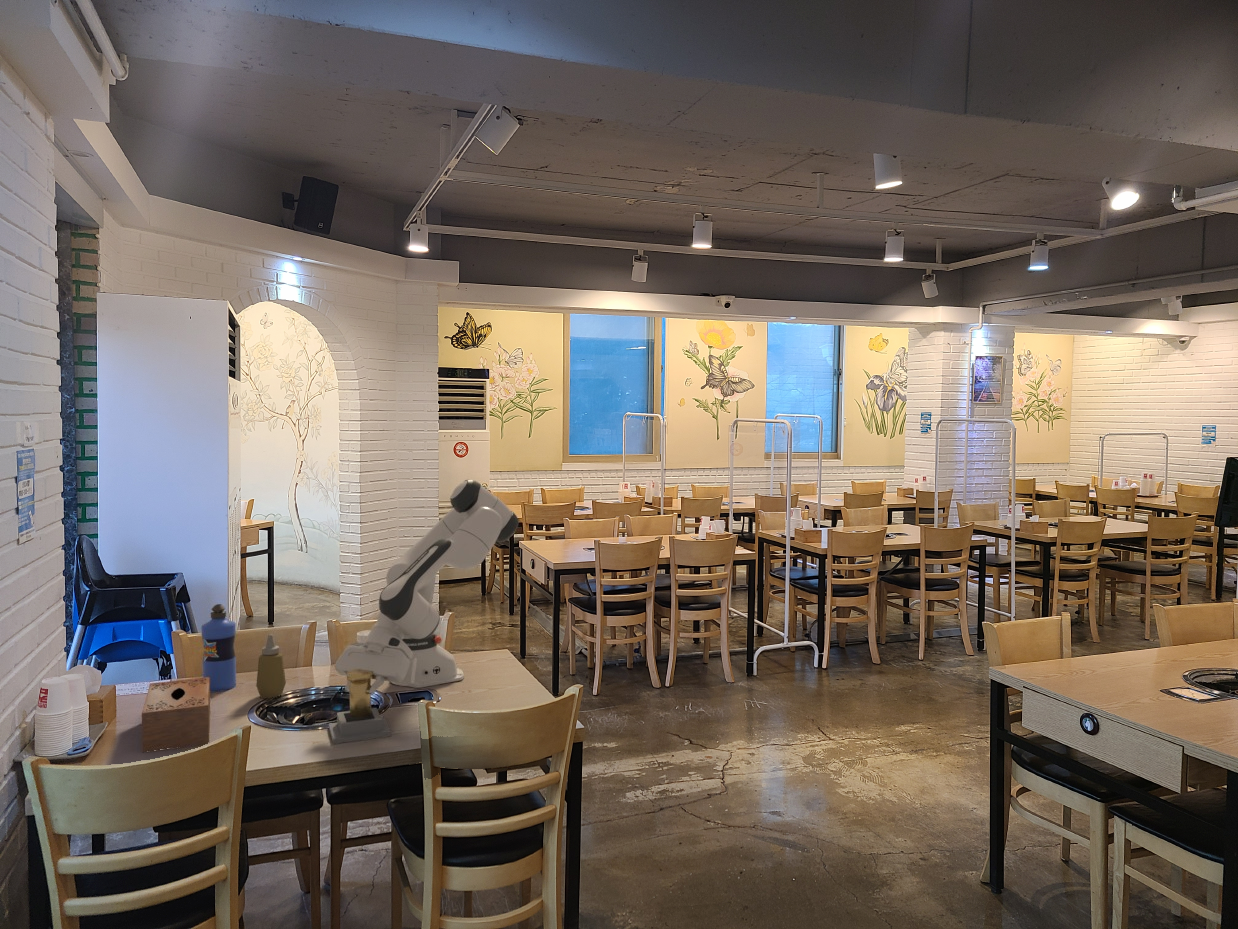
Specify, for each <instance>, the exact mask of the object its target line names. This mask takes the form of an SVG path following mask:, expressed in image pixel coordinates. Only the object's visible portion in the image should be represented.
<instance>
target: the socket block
mask: <svg viewBox="0 0 1238 929" xmlns="http://www.w3.org/2000/svg"><path fill="white" fill-rule="evenodd" d="M328 730H329V731H328V732H329V734H330V738H331V740H332V741H333V742H332V741H331V742H332V745H336V744H335V743H338V744H344V743H343V742H345V743H351V741H352V742H357V741H358V742H359V741H366V740H371V739H379V738H386V737H387V738H388V737H392V735H391V734H392V731H391V729H390V726H389V725H388V722H387V720H386V719H385V717H384V716H381V714H380V713H379V711H378V708H377V707H371V714H370V715H369V716H366V717H360V718H355V717H351V716H350V710H347V711H346V710H345V711H340V712H336V722H333V723H332V722H331V723H328Z"/></svg>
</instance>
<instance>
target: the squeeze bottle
mask: <svg viewBox="0 0 1238 929" xmlns="http://www.w3.org/2000/svg"><path fill="white" fill-rule="evenodd" d="M261 652H262V653H261V655H259V656H258V662H257V664H258V665H257V674H256V675H257V676H256V685H255V686H256V688H257V691H258V694H259V697H260V698H261V699H273V698H272V697H276V698H278V697H277V696H279V695H281V694H282V695H283V692H284V689H285V686H286V682H287V681H286V674H285V665H284V658H283V656H284V655H283V654H282V653H280V646H279V645H276V642H275V639H274V635H273V634H268V635H267V640H266V644H265V646H263V647H262V648H261ZM282 695H281V696H282ZM279 697H280V696H279Z"/></svg>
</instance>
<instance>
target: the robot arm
mask: <svg viewBox="0 0 1238 929" xmlns="http://www.w3.org/2000/svg"><path fill="white" fill-rule="evenodd" d="M449 500H450V505H451V507H452V509H450V510H449V511H448V512H447V513H445V515H444V516H443V517H442V518H440V520H439V521H438V522H437V523H436V524H435V525H434V526H432V527H431V529H430V530H429V531H428V532H427V533H426V534H425V535H423V536H422V537H421V538H420V539H419V540H418V541H417V542H416V543H415V544H413V545H412V546H411V547H410V548H409V549H408V550H407V551H405V552H404V553H403V554H402V555H401V556H400V557H399V558H398V559H397V560H395V562H394V563H392V564H391V566H390V568H389V569H388V570H387V572H386V579H385V580H386V584H387V585H386V586H385V587H383V589H382V591H381V592H380V594H379V598H378V609H379V613H378V615H377V620H376V622H375V623H374V625H372V627H371V629H370V630H371V631H370V633H369V635H368V637H367V639H366V641H365V643H358V642H357V641H354V642H352V643H350V644H348V645H347V646H346V648H345V649H344V650H343V651H342V653H341V654H340V656H339V657H338V659H337V660H336V662H335V664H334V670H335V671H336V672H337V673H338V674H339V675H341V676H345V677H347V672H348V671H350V670H354V669H361V670H369V671H373V678H372V679H371V680H375V681H374V682H373V683H371V685H369V686H368V688H367V690H366V692H367V693H368V694H371V696H372V695H375V693H376V691H377V690H378V689H380V687H381V686H382V685H383V684H384V683H385V682H386V681H387V682H390V683H391V684H393V685H396V686H401V687H403V686H404V687H411V688H414V689H417V688H418V689H420V688H424V687H431V686H437V685H441V684H446V683H447V684H448V683H452V682H453V683H454V682H458V681H462V680H464V678H465V674H464V672H463V670H462V669H461V668H459V667H457V663H456V659H455V657H454V655H453V654H452V653H450V652H449V651H448V650H446V649H445V648H443V647H442V646H440V645H439V644H441V643H442V640H443V639H442V637H440V636H439V635H437V634H435V632H436V630H437V629H438V627H439V624H440V616H441V615H440V612H438V610H437V609H436V608H435V607H434V606H433V598H434V593H435V586H436V577H437V573H438V572H439V571H440V570H441V569H442V568H444V567H445V566H448V567H451V568H454V569H457V570H463V571H469V570H473V569H476V568H478V567H479V566H480V565H481V564H482V563H483V562H484V560H485V558H487V557H488V555H489V554H490V552H491V550H492V548H493V547H494V545H495V543H503V542H506V541H507V540H508V539H510V538H511V537H512V536H513V535H514V534H515V533H516V531H517V529H518V527H519V518H518V516H517V514H516V513H515V512H514V511H513V510H511V509H510V508H509V506H507V504H505V503H504V502H503V501H502V500H501V499H500V498H499V497H498V496H496V495H494V493H492V492H491V491H489V489H487V488H485V487H484V486H483V485H482V484H481V483H480V482H478V481H476V480H474V479H465V480H464V481H463V482H461V483H459V484H458V485H457V486H455V488H454V490H453V491H452V494H451V495H450V498H449ZM344 690H345V691H346V692H349V693H350V683H349V680H347V679H346V685H345V686H344Z"/></svg>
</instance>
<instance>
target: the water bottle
mask: <svg viewBox="0 0 1238 929" xmlns="http://www.w3.org/2000/svg"><path fill="white" fill-rule="evenodd" d="M225 609H226V607H225V606H224V605H223V604H222V603H220V604H219V603H218V604H217V603H216V604H214V605H213V607H212V608H211V612H210V620H209V621H208V622H206V623H203V624H202V625H201V629H200V630H201V638H202V645H203V654H202V678H204V677H210V693H213V692H214V693H217V692H225V691H229V690H232V689H234V688H236V687H237V665H236V664H237V663H236V660H237V659H236V653H235V642H236V640H235V638H236V634H237V629H236V628H237V626H236V624H237V622H235V621H233V620H230V619H227V611H226V610H225Z"/></svg>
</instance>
